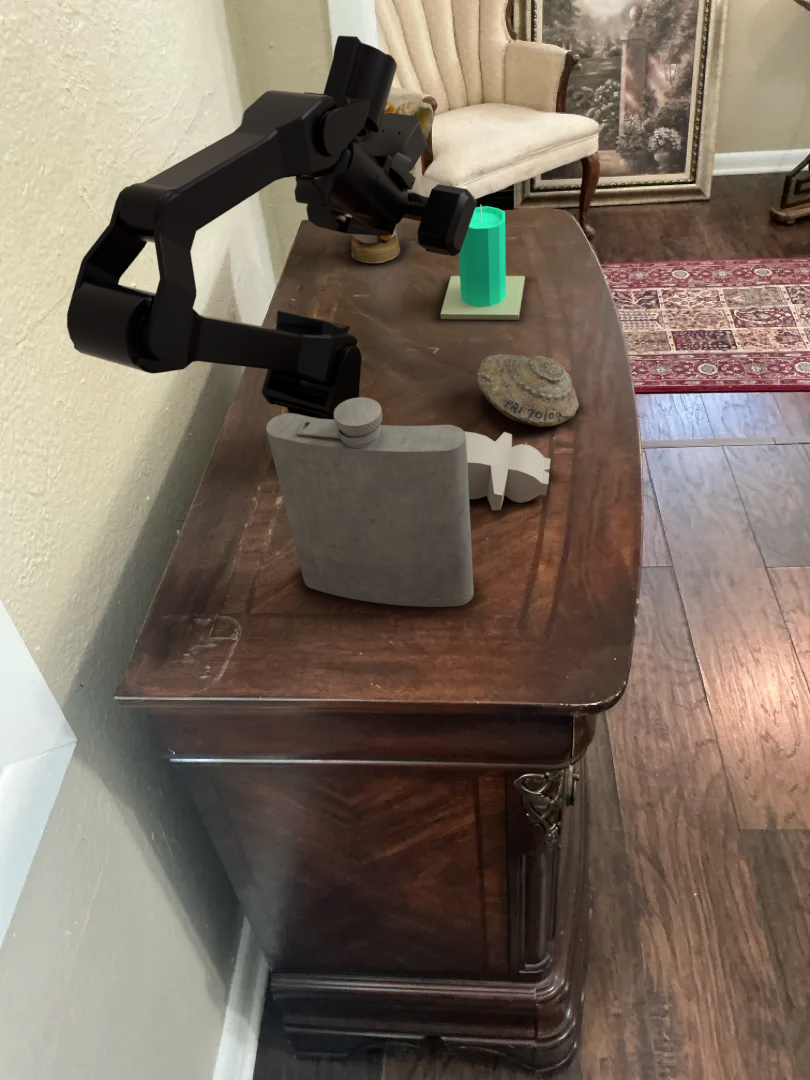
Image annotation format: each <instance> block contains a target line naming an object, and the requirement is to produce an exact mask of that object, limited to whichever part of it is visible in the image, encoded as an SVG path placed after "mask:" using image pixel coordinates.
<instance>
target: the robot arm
mask: <svg viewBox="0 0 810 1080" xmlns="http://www.w3.org/2000/svg"><path fill="white" fill-rule="evenodd" d="M332 56H333V57H332V61H331V64H330V68H329V72H328V76H327V79H326V83H325V86H324V89H323V93H319V92H318V93H316V92H306V91H304V92H296V91H285V90H275V89H271V90H267V91H265V92H264V93H263V94H261V95H260V96H259V97H258V98H257V99H256V100H255V101H254V102H253V103H251V104H250V105H249V106H248V107H247V108H246V109H245V110H244V111H243V113H242V116H241V122H240V125H239V126H238V127H237V128H236V129H235V130H234V131H233V132H231V133H229V134H227V135H226V136H223V137H222V138H220V139H218V140H216V141H215V142H213V143H211V144H209V145H207V146H206V147H204V148H202V149H200V150H198V151H197V152H195V153H193V154H192V155H189V156H188V157H186V158H184V159H183V160H181V161H179V162H176V164H173V165H172V166H170V167H168V168H166V169H165V170H162V171H161V172H159V173H157V174H155V175H153V176H152V177H150V178H148V179H146V180H145V181H143V182H134V183H133V184H131V185H128V186H125V187H123V189H122V190H120V192H119V193H118V195H117V198H116V200H115V202H114V207H113V210H112V213H111V217H110V221H109V223H108V225H107V226H106V227H105V229H104V230H103V231H102V233H101V234H100V235H99V237H97V239H96V240H95V241H94V242H93V244H92V246H91V247H90V248H89V250H88V251H86V253H85V255H84V256H83V257H82V259H81V261H80V266H79V269H78V272H77V276H76V280H75V283H74V287H73V289H72V294H71V297H70V298H71V299H70V300H69V301H70V302H69V305H68V308H67V313H66V328H67V333H68V335H69V338H70V340H71V342H72V344H73V349H75V350H76V351H77V352H79V353H80V354H83V355H86V356H89V357H93V358H96V359H99V360H103V361H107V362H110V363H113V364H117V365H121V366H123V367H126V368H127V367H128V368H131V369H133V370H137V371H141V372H144V373H148V374H161V373H162V374H163V373H169V372H175V371H181V370H184V369H186V368H187V367H189V366H190V365H191V364H192V363H194V362H201V363H202V362H203V363H210V364H219V365H227V366H237V367H244V368H253V369H263V370H267V371H266V375H265V378H264V382H263V385H262V389H261V395H262V396H263V397H264V399H265V400H266V402H267V403H268V404H269V405H275V406H276V405H277V406H280V407H284V408H286V409H287V413H294V414H299V415H303V416H308V417H313V418H318V419H331V420H335V419H334V410H335V408H336V407H337V406H338V405H339V404H340V403H342V402H344V401H346V400H348V399H352V398H360V389H361V388H360V387H361V373H362V353H361V349H360V348H359V347H358V346H357V344H358V342H359V341H358V338H357V337H356V336H355V335H354V334H352V333H350V332H349V330H350V329H351V327H350V325H347V324H343V323H338V322H333V321H329V320H324V319H320V318H316V317H311V316H307V315H304V314H303V315H302V314H299V313H291V312H288V311H282V310H277V313H276V323H275V324H274V325H273V326H272V327H267V326H263V325H257V324H253V323H246V322H241V321H237V320H236V321H235V320H230V319H226V318H224V319H223V318H219V317H214V316H208V315H204V314H199V313H198V311H196V310H195V309H194V306H195V302H196V300H197V285H196V279H195V271H194V266H193V260H192V259H193V257H192V248H193V245H194V241H195V238H196V233H197V231H199V230H201V229H202V228H204V227H205V226H207V225H209V224H210V223H212V222H214V221H215V220H216V219H218V218H219V217H221V216H223V215H224V214H226V213H227V212H229V211H230V210H232V209H233V208H235V207H237V206H238V205H240V204H241V203H243V202H245V201H246V200H247V199H249V198H250V197H252V196H253V195H255V194H257V193H259V192H260V191H262V190H263V189H264V188H266V187H268V186H270V185H271V184H272V183H274V182H276V181H278V180H282V179H285V178H294V177H295V183H296V184H295V188H294V198H295V202H296V203H297V204H298V203H299V204H305V205H306V206H305V210H306V216H307V220H308V221H309V222H310V223H312V224H313V225H315V226H316V227H318V228H321V229H326V230H330V231H333V232H337V233H342V234H347V235H353V234H361V235H375V236H389V234H390V235H393V233H394V230H396V227H397V225H398V224H400V222H401V221H402V220H403V219H408V220H411V221H417V222H419V224H418V225H419V226H418V229H417V231H416V232H417V243H418V245H419V246H420V247H421V248H422V249H424V250H425V251H426V252H429V253H435V254H439V255H443V256H449V257H456V255H459V253H460V251H461V248H462V246H463V243H464V240H465V237H466V234H467V231H468V228H469V225H470V222H471V219H472V216H473V213H474V210H475V208H476V207H477V205H478V202H477V199H476V197H475V196H474V195H473V194H472V193H471V192H470V191H469V189H468V188H463V187H457V186H451V185H446V184H440V183H437V184H436V185H435V186H433V187H432V188H431V189H430V192H429V196H424V195H418V194H413V193H408V190H410V191H411V190H413V188H414V185H415V181H416V180H417V178H416V177H415V176H414V174H413V175H412V174H411V173H410V171H411V170H412V169H413V168H414V166H415V167H416V164H417V163H418V161H419V159H420V157H421V156H422V154H423V152H426V150H427V148H428V142H427V140H426V138H425V136H424V133H423V130H422V128H421V125H420V122H419V120H418V118H417V117H415V116H410V115H403V114H396V113H385V114H384V110H385V107H386V103H387V101H389V96H390V93H391V89H392V85H393V83H394V79H395V75H396V72H397V68H398V66H397V65H398V64H397V62H396V60H395V58H394V57H393V56H392V55H391V54H389V53H388V54H387V53H385V52H384V51H383V50H380V49H379V48H377V47H375V46H372V45H370V44H367V43H364V42H362V41H361V39H360V38H359V37H358V36H355V35H341V34H340V35H338V36H337V38H336V42H335V45H334V49H333V55H332ZM148 243H153V244H154V247H155V255H156V261H157V267H158V275H159V280H158V284H157V287H156V291H155V292H152V291H148V290H145V289H139V288H135V287H133V286H132V287H131V286H127V285H124V284H123V285H122V284H119V283H120V281H121V280H120V279H121V277H123V275H124V274H125V272H126V271H128V269H129V268H130V266H131V265H132V263H133V262H134V261H135V260H136V259H137V258H138V256H139V255H140V253H141V252H142V251H143V250H144V249H145V247H146V245H147V244H148Z"/></svg>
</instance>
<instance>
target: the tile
mask: <svg viewBox="0 0 810 1080" xmlns="http://www.w3.org/2000/svg"><path fill="white" fill-rule="evenodd" d="M525 283H526V276H525V275H506V297H505V298H504V299H503V300H502V301H501V302H500V303H497V304H494V305H492V306H483V307H476V306H472V305H468V304H466V303H465V302H464V301H463V300H461V286H460V275H451V276H450V278H449V282H448V285H447V289H446V292H445V296H444V300H443V302H442V303H443V304H442V307H441V309H440V310H441V311H440V319H441V320H476V321H477V320H480V321H481V320H484V321H485V320H487V321H489V320H490V321H519V320H520V315H521V308H522V303H523V296H524V290H525Z"/></svg>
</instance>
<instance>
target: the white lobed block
mask: <svg viewBox="0 0 810 1080" xmlns="http://www.w3.org/2000/svg"><path fill="white" fill-rule="evenodd" d="M464 432H465V434H466V446H467V467H468V487H469V500H478V499H481V498H484V497H487V501H488V504H489V505H490V509H491V511H501V509H502V506H503V502H504V500H505V497H506V498H508V500H510V501H512V502H514V503H515V502H516V503H519V504H521V503H526V502H530V501H532V500H534V499H535V498H537V497H539V496H547V491H548V487H549V480H550V469H551V460H552V459H551V457H545V456H544V455H543V454H542V453H541V452H540V451H539V450H538V449H537V448H535V447H533V446H532V445H530V444H523V443H520V444H516V445H514V446H513V434H512V433H509V432H506V431H503V433H502V434H501V435H500V436H499V437H498V438H497V439H496V440H493V439H491V438H490V437H488V436H487V435H484V434H481V433H477V432H470V431H464Z"/></svg>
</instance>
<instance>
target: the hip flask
mask: <svg viewBox="0 0 810 1080" xmlns="http://www.w3.org/2000/svg"><path fill="white" fill-rule="evenodd" d="M382 412H383V410H382V405H380V403H379V402H378V400H375V399H373V398H370V397H363V396H361V397H360V396H359V398H352V399H348V400H346V401H344V402H342V403H340V404H339V405H338V406H337V407H336V408H335V410H334V419H335V420H331V419H318V418H313V417H308V416H303V415H299V414H294V413H288V412H287V413H281V414H279V415H277V416H276V415H275V416H274V417H273V418H271V419H270V420H269V421H268V423H266V426H265V430H266V434H267V439H268V443H269V447H270V450H271V455H272V459H273V464H274V466H275V470H276V474H277V479H278V483H279V486H280V490H281V491H280V492H281V494H282V499H283V503H284V506H285V511H286V515H287V519H288V522H289V523H288V524H289V527H290V530H291V535H292V539H293V542H294V546H295V551H296V554H297V555H296V556H297V559H298V563H299V566H300V570H301V574H302V579H303V583H304V584H305V585H306V587H308V588H310V589H311V590H315V591H318V592H322V593H325V594H329V595H332V596H337V597H341V598H346V599H350V600H356V601H361V602H367V603H368V602H370V603H376V604H383V605H384V604H385V605H392V606H403V607H404V606H406V607H422V608H423V607H424V608H425V607H427V608H446V607H449V608H450V607H451V608H452V607H461V606H464V605H467V604H468V603H469V602H470V601H472V599H473V597H474V593H475V590H474V573H473V571H474V570H473V551H472V532H471V530H472V529H471V510H470V509H471V507H470V499H469V487H468V467H467V446H466V434H465V432H466V431H464V430H463V428H461V427H459V426H456V425H453V424H435V425H434V424H433V425H388V424H387V425H386V424H381V423H382V421H383V413H382ZM466 595H467V596H466ZM464 596H465V597H464ZM459 598H460V599H459ZM433 599H439V600H433Z"/></svg>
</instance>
